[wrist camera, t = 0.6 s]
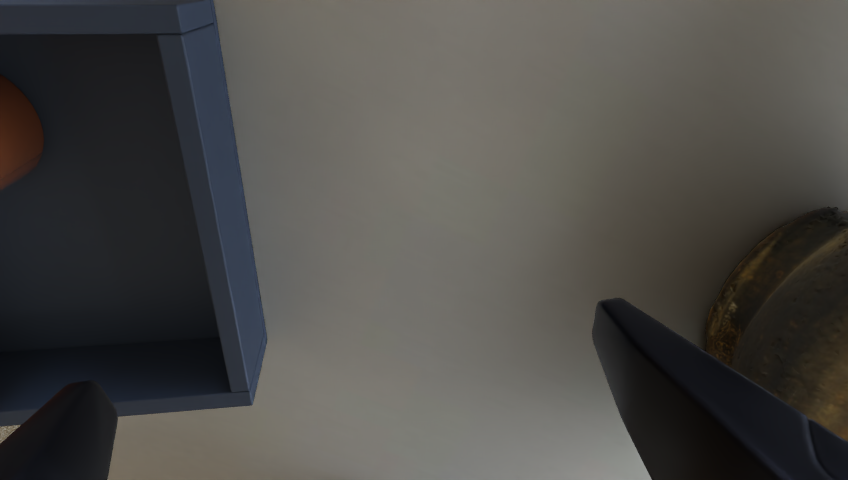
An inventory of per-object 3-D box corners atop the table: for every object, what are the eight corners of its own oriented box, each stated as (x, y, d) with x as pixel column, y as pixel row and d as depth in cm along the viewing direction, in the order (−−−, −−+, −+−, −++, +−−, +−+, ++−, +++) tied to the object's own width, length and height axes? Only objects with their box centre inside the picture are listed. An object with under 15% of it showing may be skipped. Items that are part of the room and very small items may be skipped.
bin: (267, 340, 26) (252, 405, 22) (-28, 361, 25) (-101, 435, 21) (213, -2, 19) (177, 4, 15) (-206, -3, 18) (-370, 3, 14)
